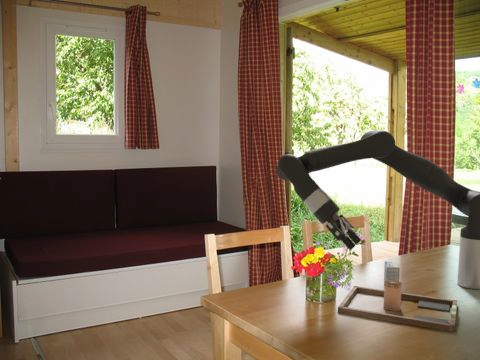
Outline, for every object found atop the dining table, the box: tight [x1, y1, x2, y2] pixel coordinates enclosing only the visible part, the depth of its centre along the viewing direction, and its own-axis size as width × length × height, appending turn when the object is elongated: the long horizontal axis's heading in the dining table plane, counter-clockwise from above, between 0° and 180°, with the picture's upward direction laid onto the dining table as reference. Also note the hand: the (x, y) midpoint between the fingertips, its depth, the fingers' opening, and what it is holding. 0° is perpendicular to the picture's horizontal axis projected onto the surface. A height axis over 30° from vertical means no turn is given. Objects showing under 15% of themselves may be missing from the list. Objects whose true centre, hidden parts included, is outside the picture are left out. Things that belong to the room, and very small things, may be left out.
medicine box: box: [383, 260, 401, 287], centre depth 175 cm, size 8×4×9 cm, turn 168°
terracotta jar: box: [383, 280, 403, 312], centre depth 156 cm, size 5×5×8 cm
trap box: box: [337, 285, 458, 333], centre depth 156 cm, size 23×32×2 cm
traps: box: [413, 300, 451, 324], centre depth 152 cm, size 20×9×1 cm, turn 155°
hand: (356, 245), depth 159 cm, fingers open, 8 cm apart
